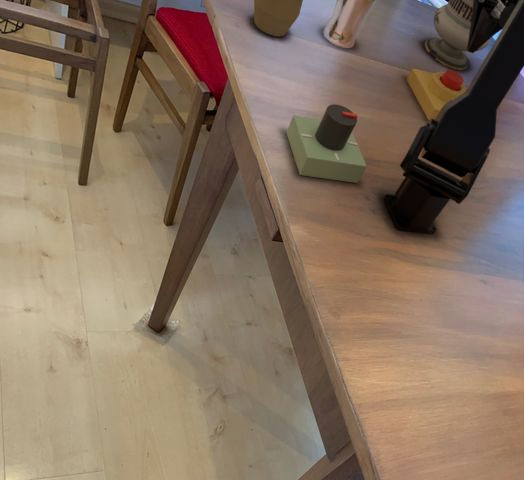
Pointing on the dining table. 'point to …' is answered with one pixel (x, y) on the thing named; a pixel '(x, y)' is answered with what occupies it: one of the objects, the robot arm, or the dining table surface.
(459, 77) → the button
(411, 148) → the robot arm
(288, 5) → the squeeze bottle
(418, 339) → the dining table surface
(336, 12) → the beer glass
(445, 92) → the button block
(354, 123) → the knob
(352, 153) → the panel
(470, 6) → the apothecary jar
